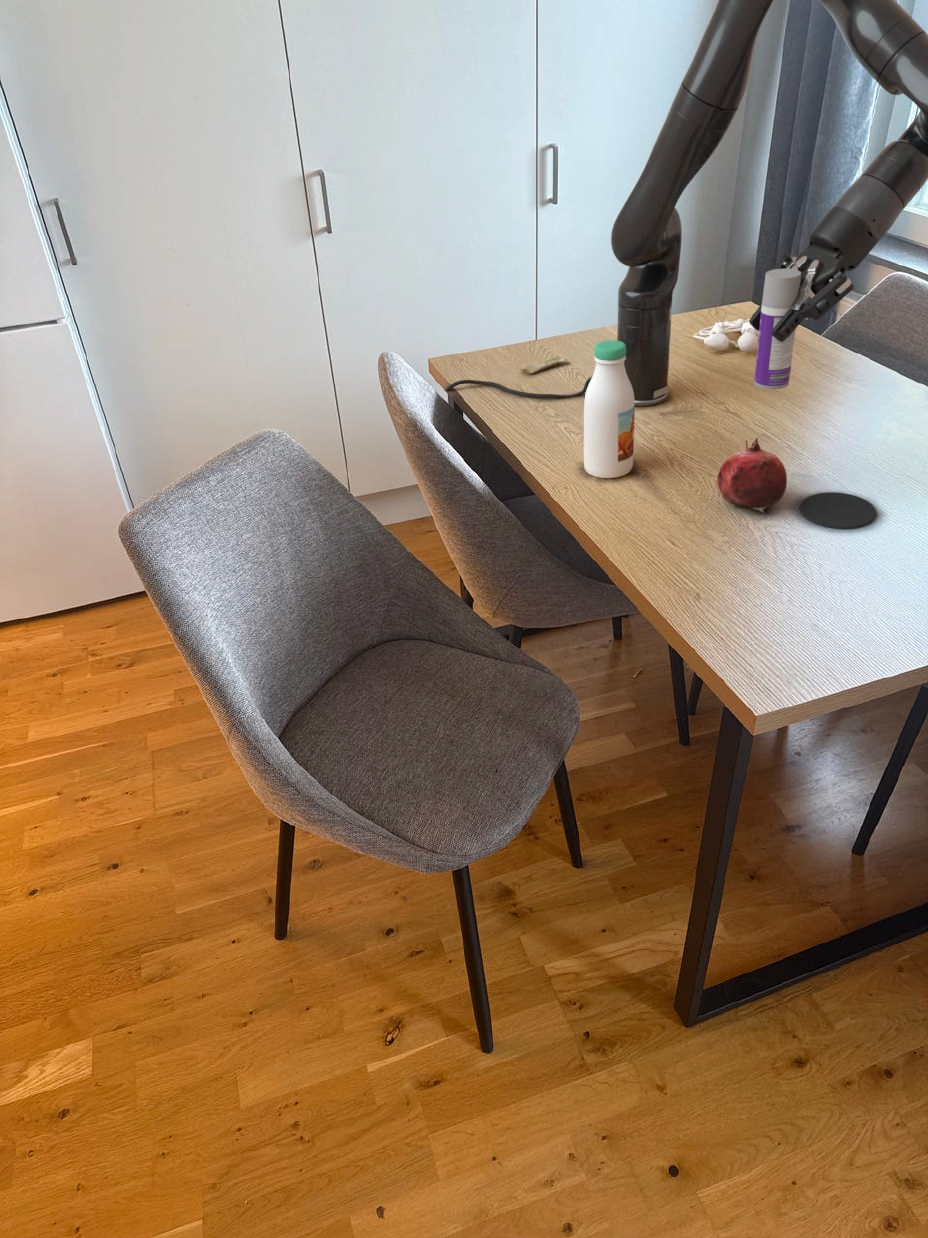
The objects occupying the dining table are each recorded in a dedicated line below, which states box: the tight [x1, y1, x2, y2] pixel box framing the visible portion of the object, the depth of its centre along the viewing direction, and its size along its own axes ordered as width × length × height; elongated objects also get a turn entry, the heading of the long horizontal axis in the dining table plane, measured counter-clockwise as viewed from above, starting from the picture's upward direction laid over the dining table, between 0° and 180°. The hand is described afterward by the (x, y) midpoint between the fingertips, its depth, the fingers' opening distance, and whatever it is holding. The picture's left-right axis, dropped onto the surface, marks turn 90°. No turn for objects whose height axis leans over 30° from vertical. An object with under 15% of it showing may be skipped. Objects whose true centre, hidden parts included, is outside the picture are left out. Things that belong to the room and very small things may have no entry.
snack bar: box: [521, 355, 568, 374], centre depth 183 cm, size 10×2×3 cm
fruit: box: [716, 437, 788, 514], centre depth 129 cm, size 9×10×10 cm
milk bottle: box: [583, 339, 636, 479], centre depth 138 cm, size 8×8×20 cm
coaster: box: [799, 491, 877, 530], centre depth 128 cm, size 10×10×1 cm
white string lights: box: [693, 318, 759, 353], centre depth 187 cm, size 19×14×4 cm
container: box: [753, 269, 801, 391], centre depth 123 cm, size 5×5×15 cm
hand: (765, 331), depth 123 cm, fingers closed on container, 4 cm apart
